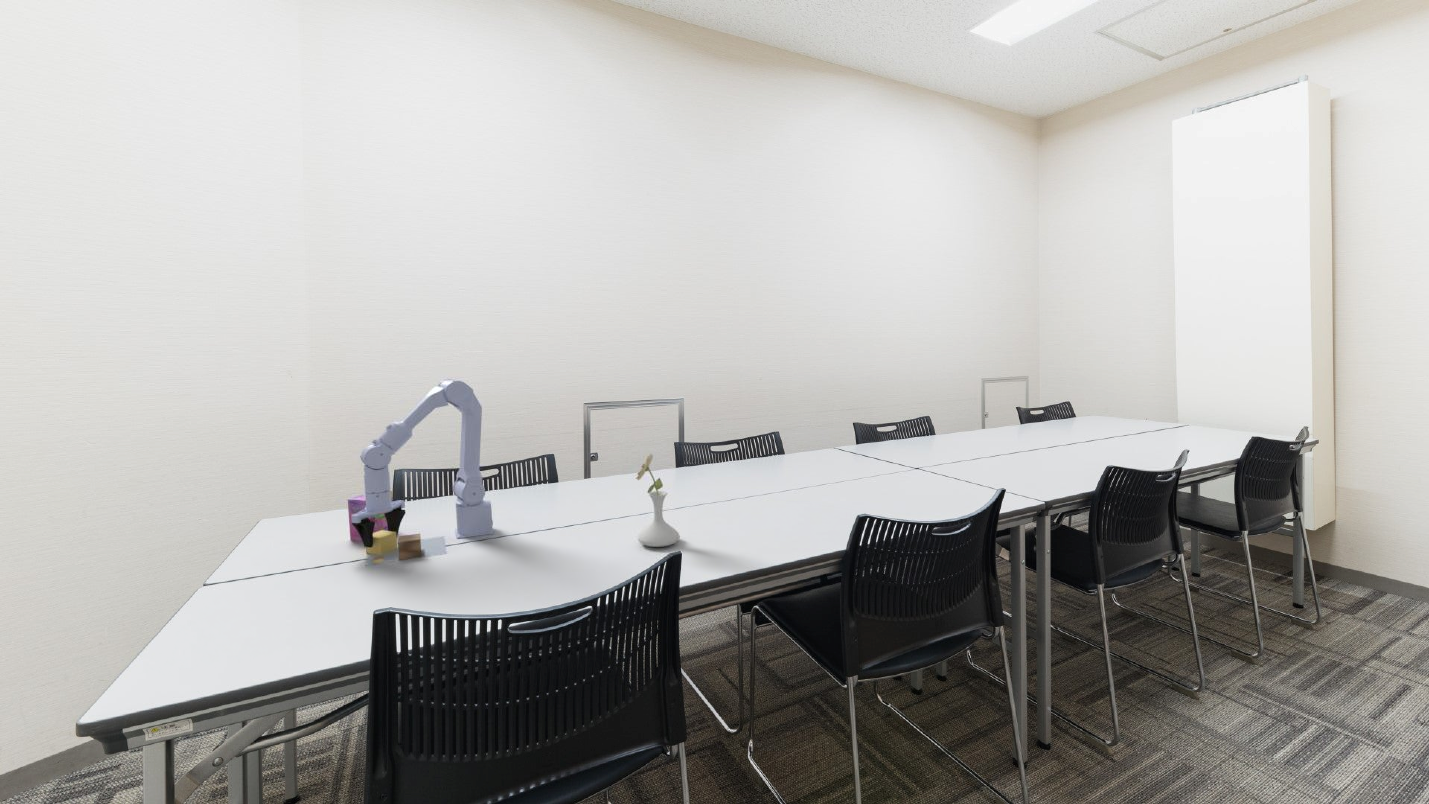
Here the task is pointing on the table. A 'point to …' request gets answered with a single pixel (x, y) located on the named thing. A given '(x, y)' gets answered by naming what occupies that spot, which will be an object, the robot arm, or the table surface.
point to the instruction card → (427, 549)
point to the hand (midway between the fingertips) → (381, 542)
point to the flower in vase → (656, 516)
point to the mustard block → (383, 542)
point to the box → (380, 520)
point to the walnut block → (409, 546)
